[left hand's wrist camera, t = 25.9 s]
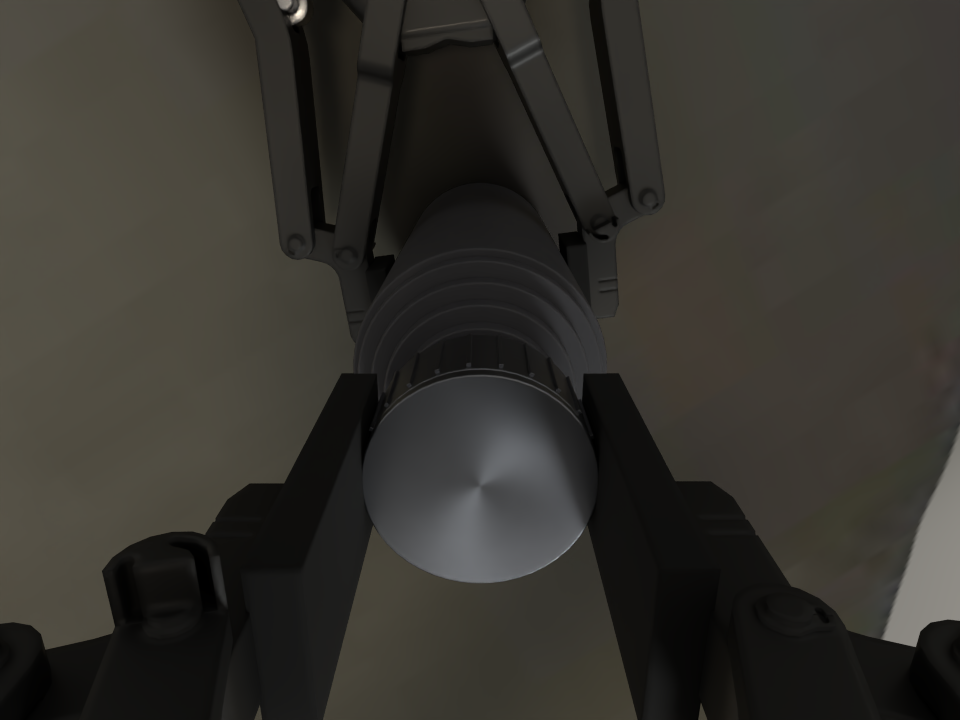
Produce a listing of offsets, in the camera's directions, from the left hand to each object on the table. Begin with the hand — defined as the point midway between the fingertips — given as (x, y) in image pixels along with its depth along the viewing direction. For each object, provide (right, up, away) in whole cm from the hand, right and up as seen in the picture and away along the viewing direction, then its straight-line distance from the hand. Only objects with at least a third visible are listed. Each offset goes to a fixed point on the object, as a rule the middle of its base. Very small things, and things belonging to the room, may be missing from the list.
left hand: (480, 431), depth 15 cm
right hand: (+1, 0, +14) cm, 14 cm away
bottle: (0, +7, +18) cm, 19 cm away
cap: (0, -1, -2) cm, 2 cm away
